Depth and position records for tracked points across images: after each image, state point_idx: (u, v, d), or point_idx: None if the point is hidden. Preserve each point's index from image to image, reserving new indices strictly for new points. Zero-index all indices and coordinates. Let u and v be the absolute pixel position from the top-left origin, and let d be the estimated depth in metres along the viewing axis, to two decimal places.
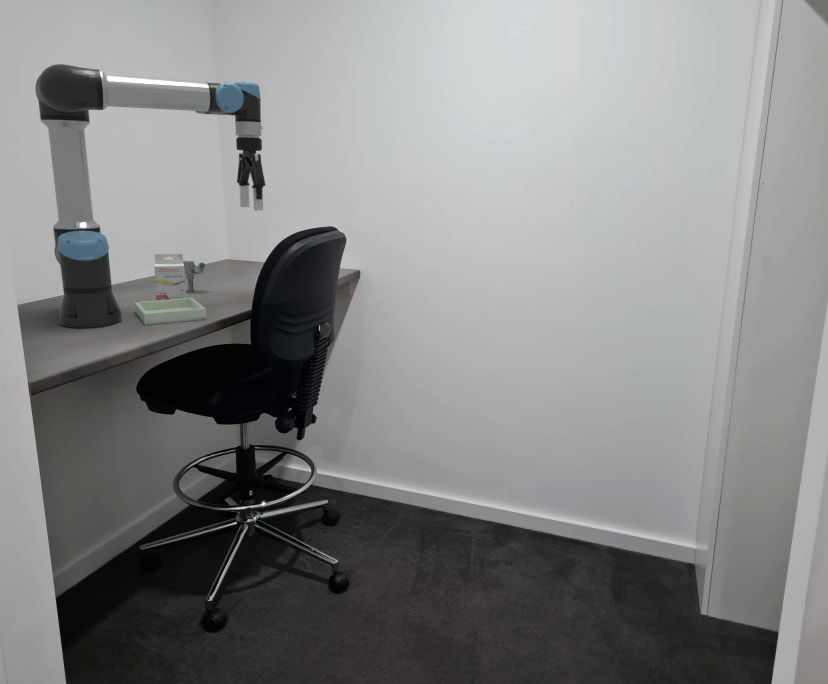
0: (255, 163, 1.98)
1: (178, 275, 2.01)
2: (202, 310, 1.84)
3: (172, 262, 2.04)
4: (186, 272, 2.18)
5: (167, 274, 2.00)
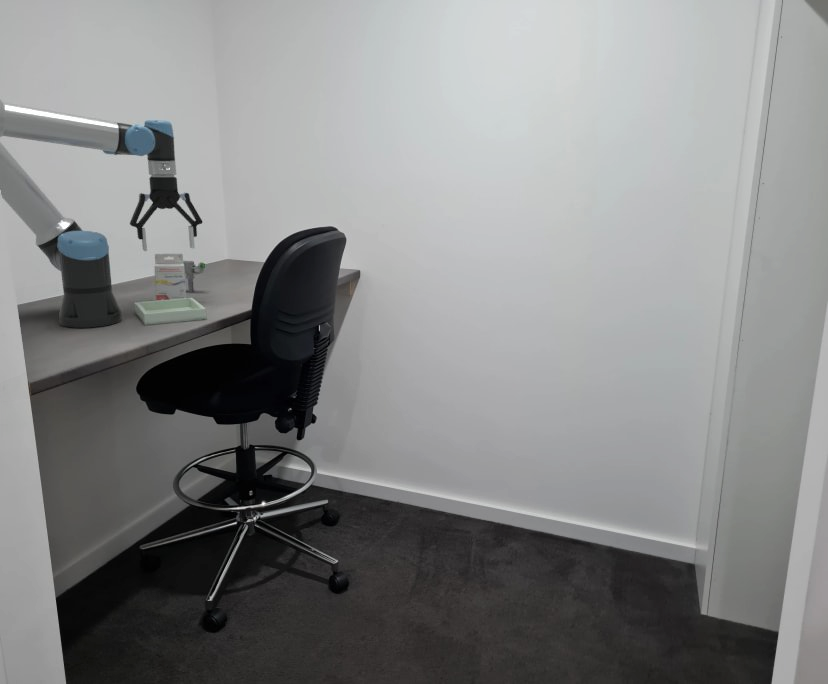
0: (138, 203, 1.94)
1: (178, 275, 2.01)
2: (202, 310, 1.84)
3: (172, 262, 2.04)
4: (186, 272, 2.18)
5: (167, 275, 2.00)
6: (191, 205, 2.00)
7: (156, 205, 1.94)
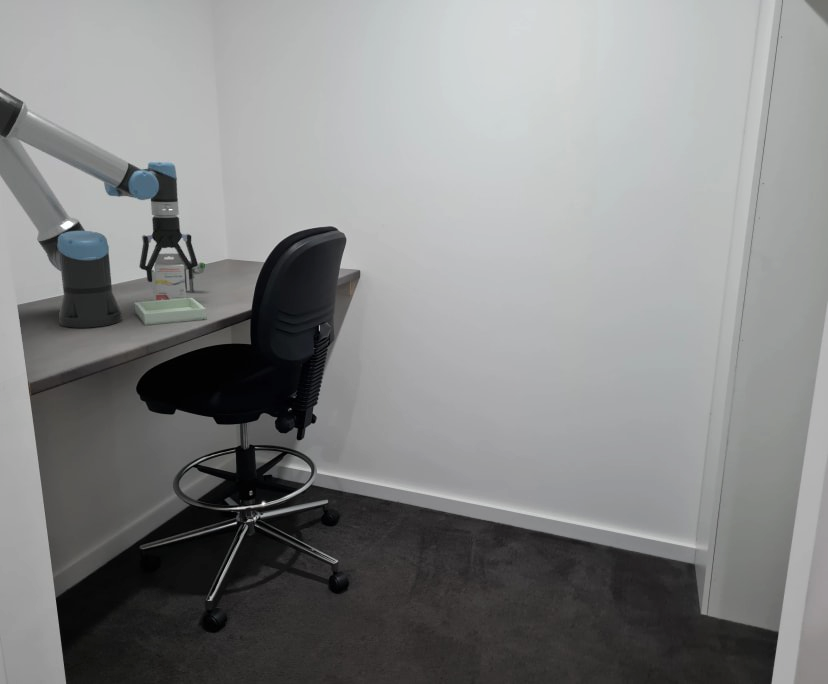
0: (143, 245, 1.97)
1: (178, 275, 2.01)
2: (202, 310, 1.84)
3: (172, 262, 2.04)
4: None
5: (167, 274, 2.00)
6: (191, 247, 2.02)
7: (160, 245, 1.97)
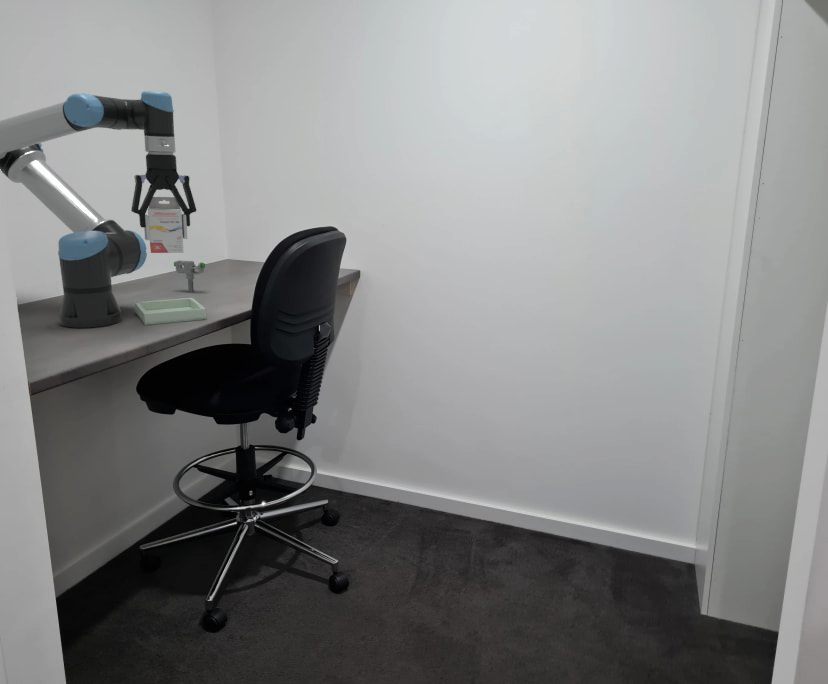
0: (135, 186, 1.76)
1: (175, 220, 1.80)
2: (202, 310, 1.84)
3: (168, 207, 1.83)
4: (186, 272, 2.18)
5: (163, 219, 1.79)
6: (189, 190, 1.82)
7: (155, 186, 1.77)
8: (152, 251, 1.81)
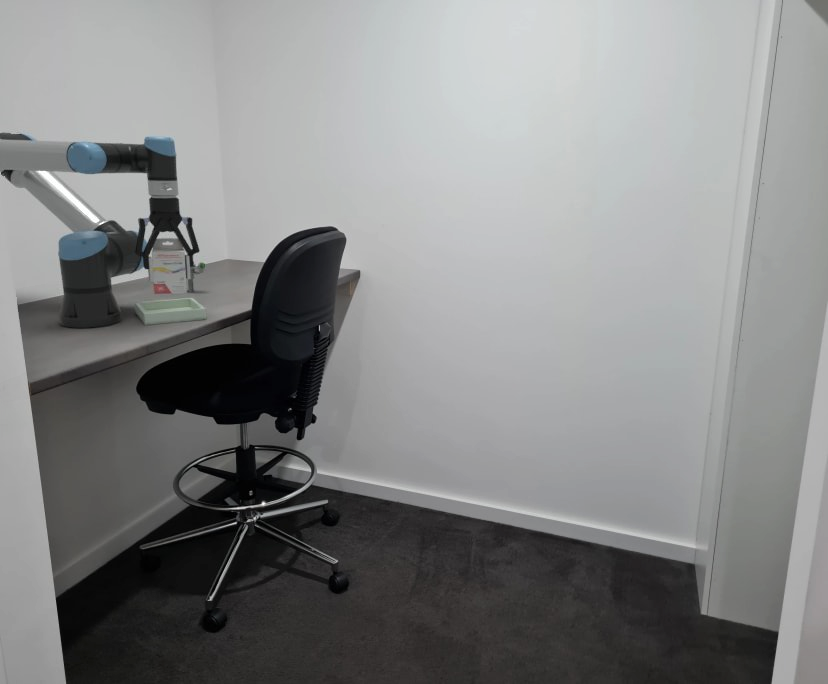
0: (139, 229, 1.79)
1: (178, 262, 1.82)
2: (202, 310, 1.84)
3: (171, 248, 1.85)
4: None
5: (166, 261, 1.81)
6: (192, 231, 1.84)
7: (158, 229, 1.79)
8: (156, 292, 1.83)
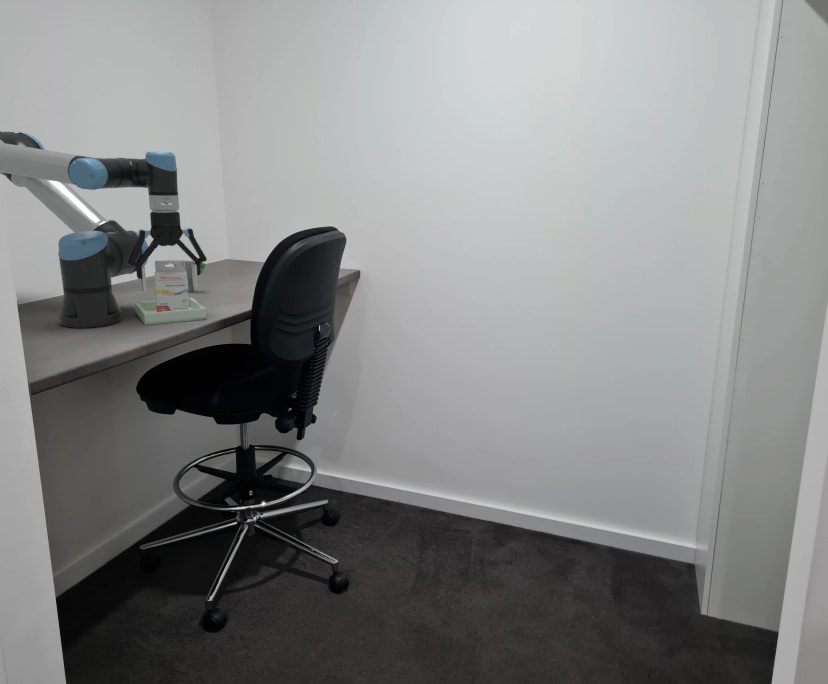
0: (138, 240, 1.79)
1: (180, 284, 1.84)
2: (202, 310, 1.84)
3: (174, 270, 1.87)
4: None
5: (169, 283, 1.83)
6: (195, 242, 1.85)
7: (157, 242, 1.80)
8: None
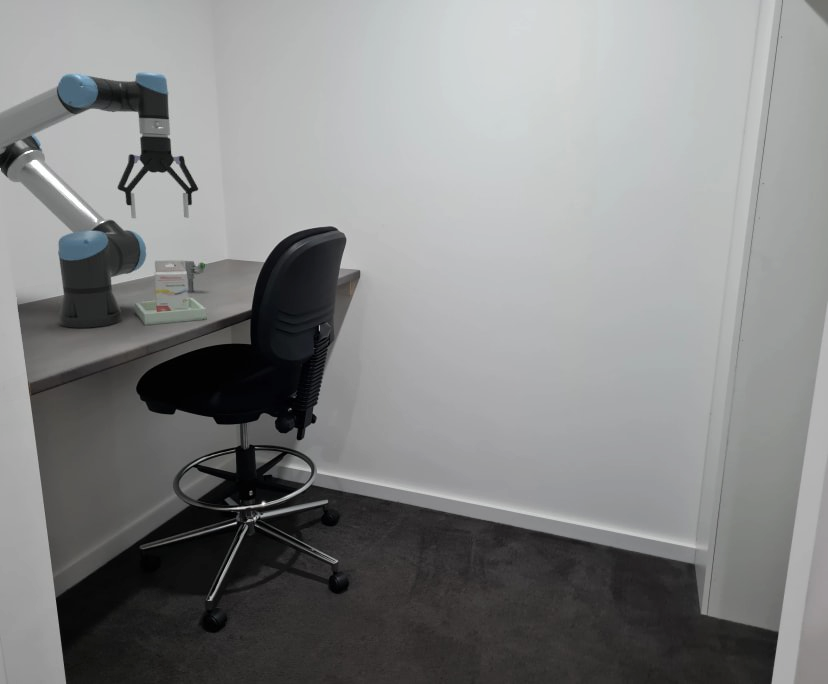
0: (127, 164, 1.75)
1: (180, 284, 1.84)
2: (202, 310, 1.84)
3: (174, 270, 1.87)
4: None
5: (169, 283, 1.83)
6: (186, 170, 1.81)
7: (147, 168, 1.76)
8: None
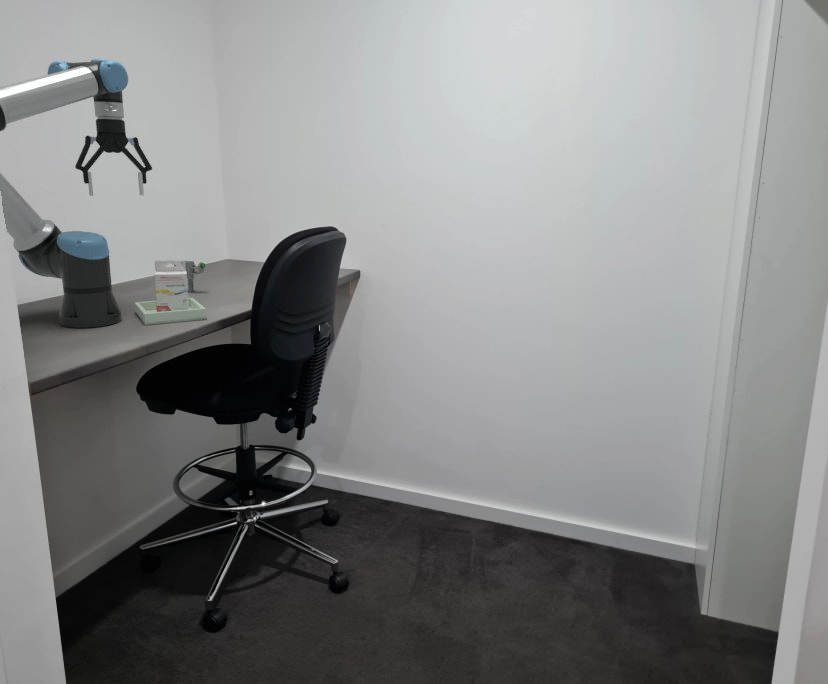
0: (84, 145, 1.88)
1: (180, 284, 1.84)
2: (202, 310, 1.84)
3: (174, 270, 1.87)
4: None
5: (169, 283, 1.83)
6: (140, 150, 1.94)
7: (102, 148, 1.89)
8: None
